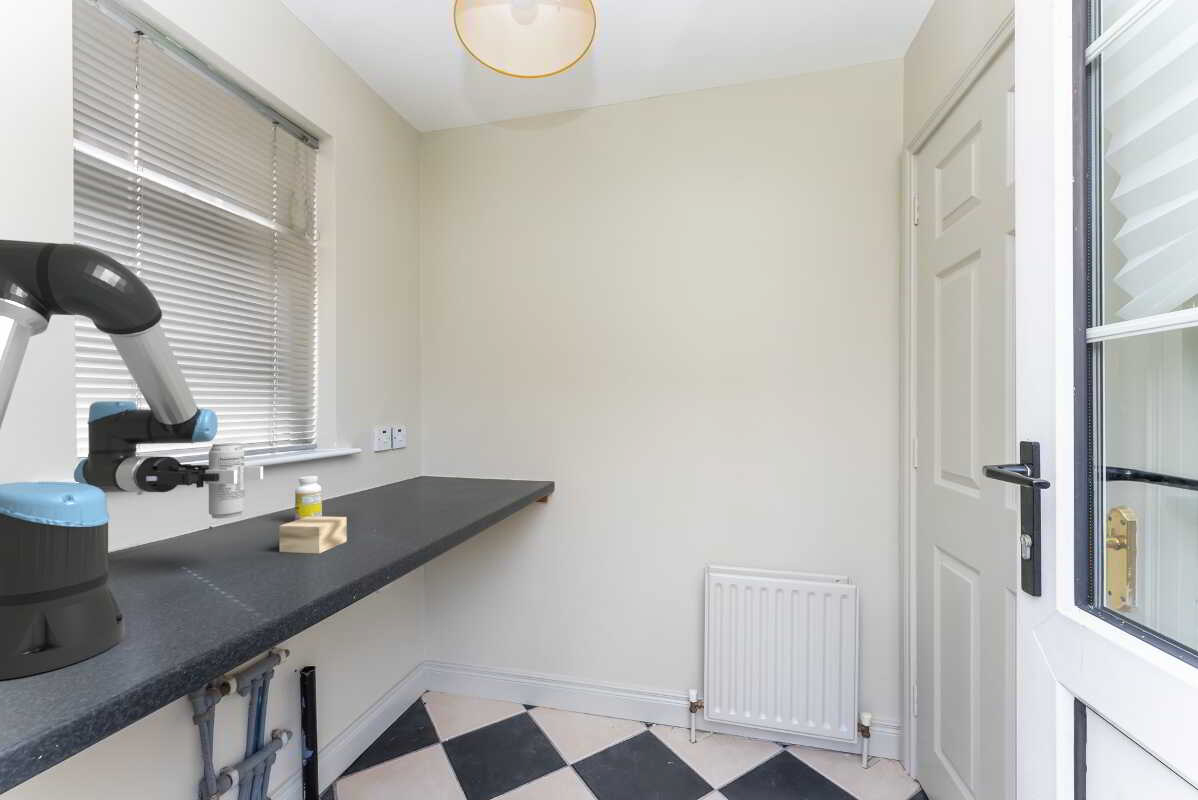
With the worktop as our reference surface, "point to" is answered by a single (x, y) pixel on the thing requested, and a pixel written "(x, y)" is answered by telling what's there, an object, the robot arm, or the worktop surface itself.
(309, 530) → the oak block
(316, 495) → the supplement bottle
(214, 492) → the energy drink can
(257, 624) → the worktop surface
